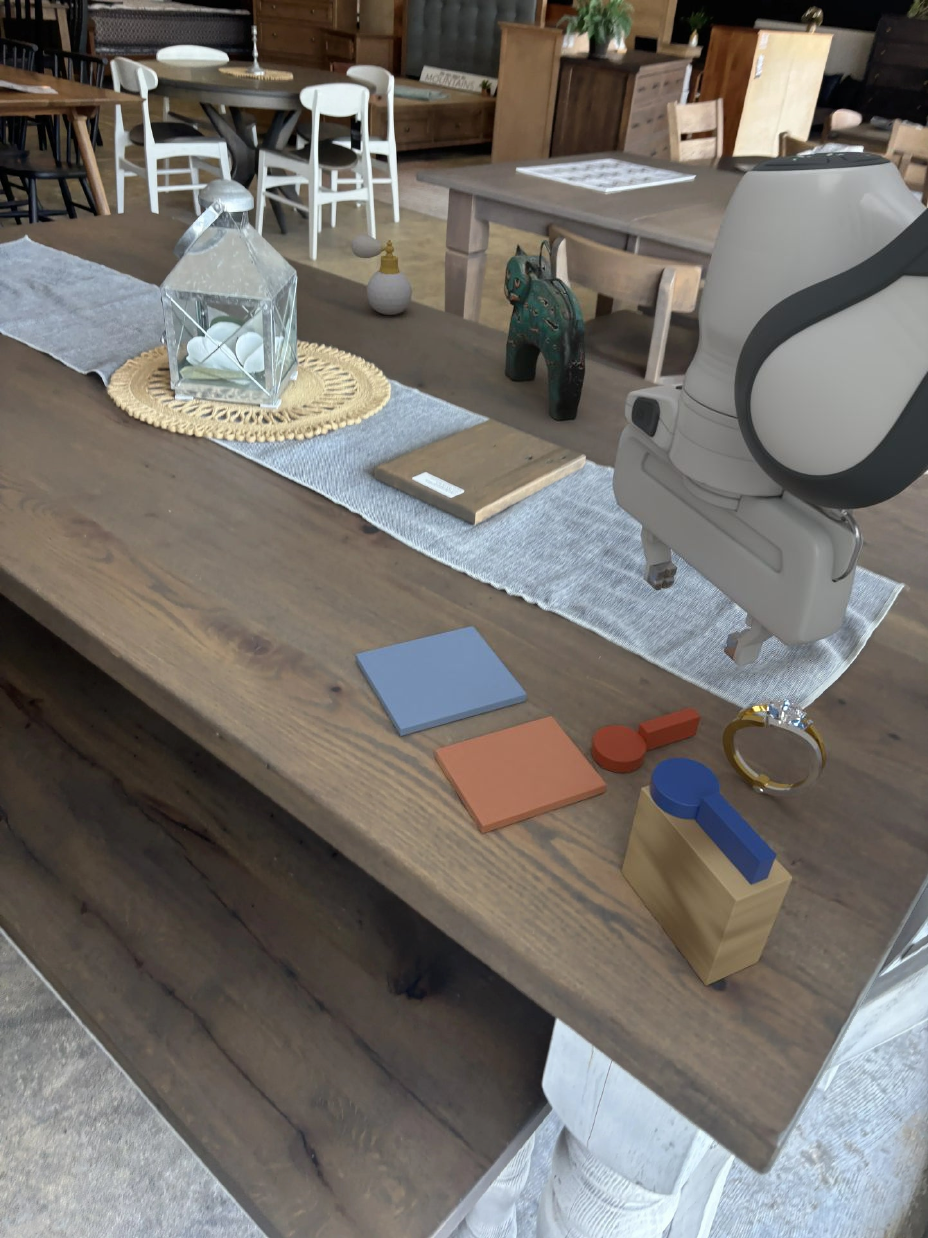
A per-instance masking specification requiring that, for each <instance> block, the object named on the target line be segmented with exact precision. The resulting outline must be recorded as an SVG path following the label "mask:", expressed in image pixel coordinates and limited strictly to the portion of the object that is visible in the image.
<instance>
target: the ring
mask: <svg viewBox="0 0 928 1238" xmlns="http://www.w3.org/2000/svg"><path fill="white" fill-rule="evenodd" d="M761 712H766V714H764V715H763V716H761V715H754V714H757V713H761ZM807 715H808V714H807V712H806V711H804V709H803V708H802V707H801V705H800V704H796V703H795V702H792V699H790V698H789V697H786V698H785V699H784V700H782V699H767V700H760V701H755V702H752V703H750V704H748V705H747V706H745V707H743V708H742V709H741V710H740V711H739V712H738V713H737V714H736V715H735V716H734V717H733V718H732V719H731V721H729V723H728V724H727V725H726V727H725V728H724V730H723V731H722V732H723V733H722V739H721V741H722V748H723V752H724V755H725V757H726V759H727V761H728V764H729V765H730V766H731V768H732V769H733V771H735V773H736V774H737V775H738V776H739V777H740V778H741V779H742V780H744V782H746V783H747V784H749V786H751V788H752V790H753V791H755V792H756V793H758V794H763V793H764V794H767V795H769V796H773V797H778V798H792V797H797V796H800V795H803V794H804V793H806V792H807V791H809V790H810V789H811V788H812V787H813V786H814V785H815V784H816V783H817V782H818V780H819V778H820V777H821V775H822V774H823V772H824V770H825V768H826V767H825V766H826V762H827V751H826V747H825V743H824V740H823V738H822V736H821V734H820V733H819V731H818V730H817V728H816V727H815V726H814V725H813V724H814V721H813V720H812V719H811V718H809V719H808V718H806V717H807ZM768 727H770V728H773V729H776V730H777V731H781V732H783V733H786V734H788V735H790V736H792V737H793V738H795V739H797V740H799V742H801V743H802V744H803V745H804V747H805V748H806V749H807V752H808V755H809V759H810V769H809V773H808V774H807V776H806V777H804V778H803V779H802V780H800V781H797V782H795V783H794V782H793V783H778V782H774V781H771V779H770V778H769V777H768V776H767V775H765V774H764V773H763V774H762V773H760V774H758V773H757V772H755V771H754V770H753V769H751V768H750V766H748V764H747V763H746V762H745V760H744V759H743V758H742V756H741V754H740V752H739V749H738V745H737V740H736V739H737V732H738V731H740V730H742V729H747V728H768Z"/></svg>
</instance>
